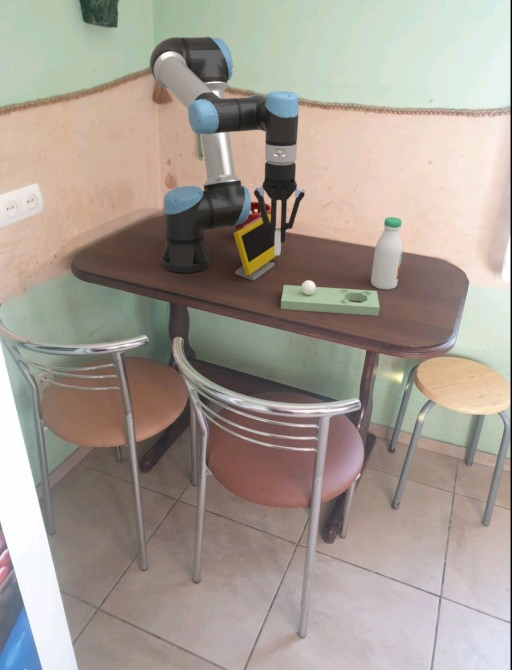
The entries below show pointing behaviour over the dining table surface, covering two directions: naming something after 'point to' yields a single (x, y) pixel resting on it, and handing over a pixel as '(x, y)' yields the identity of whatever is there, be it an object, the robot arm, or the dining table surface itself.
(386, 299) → the dining table surface
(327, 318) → the dining table surface
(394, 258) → the milk bottle
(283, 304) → the putting strip
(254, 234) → the yellow framed monitor
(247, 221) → the plant pot
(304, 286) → the ball
